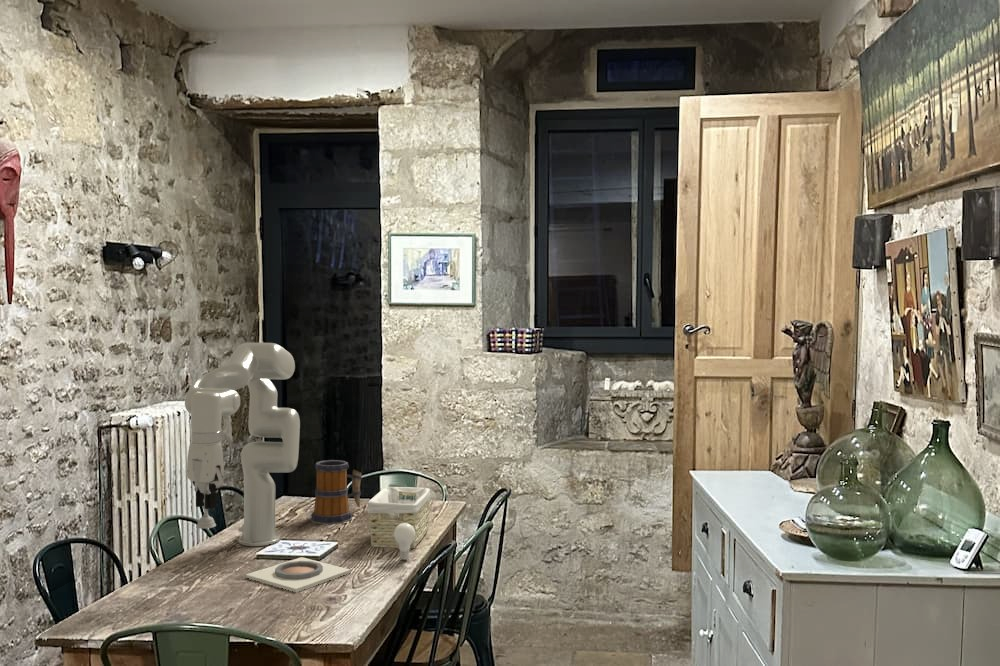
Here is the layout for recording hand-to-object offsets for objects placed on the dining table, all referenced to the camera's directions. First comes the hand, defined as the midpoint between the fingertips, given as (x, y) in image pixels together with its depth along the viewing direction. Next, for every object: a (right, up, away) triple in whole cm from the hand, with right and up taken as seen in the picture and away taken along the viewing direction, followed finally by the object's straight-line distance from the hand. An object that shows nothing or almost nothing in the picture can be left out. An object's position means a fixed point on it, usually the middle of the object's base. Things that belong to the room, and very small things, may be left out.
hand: (206, 506), depth 218 cm
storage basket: (+46, -21, +47) cm, 69 cm away
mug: (+20, -20, +73) cm, 79 cm away
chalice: (0, -5, 0) cm, 5 cm away
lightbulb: (+50, -21, +24) cm, 59 cm away
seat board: (+23, -21, +9) cm, 32 cm away
